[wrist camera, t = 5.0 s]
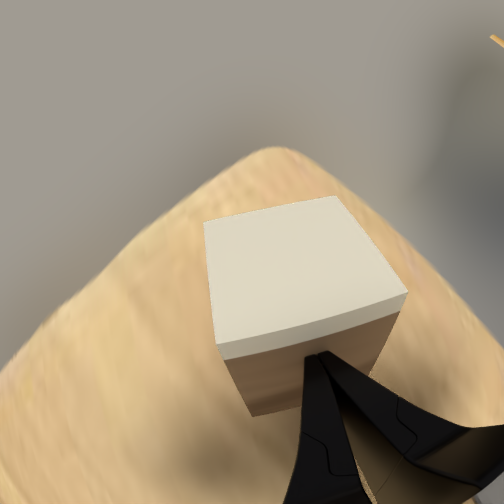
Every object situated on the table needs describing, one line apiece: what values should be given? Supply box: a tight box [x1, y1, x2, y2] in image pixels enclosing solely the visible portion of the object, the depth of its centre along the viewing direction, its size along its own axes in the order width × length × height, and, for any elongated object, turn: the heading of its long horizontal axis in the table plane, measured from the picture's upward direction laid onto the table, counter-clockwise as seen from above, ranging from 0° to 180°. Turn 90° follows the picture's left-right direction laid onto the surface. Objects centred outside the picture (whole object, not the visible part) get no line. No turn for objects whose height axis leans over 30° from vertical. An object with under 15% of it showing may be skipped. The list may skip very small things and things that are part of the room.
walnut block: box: [203, 195, 408, 417], centre depth 12 cm, size 6×6×8 cm
